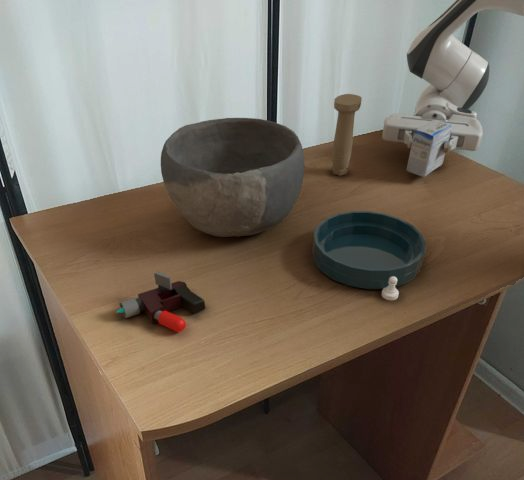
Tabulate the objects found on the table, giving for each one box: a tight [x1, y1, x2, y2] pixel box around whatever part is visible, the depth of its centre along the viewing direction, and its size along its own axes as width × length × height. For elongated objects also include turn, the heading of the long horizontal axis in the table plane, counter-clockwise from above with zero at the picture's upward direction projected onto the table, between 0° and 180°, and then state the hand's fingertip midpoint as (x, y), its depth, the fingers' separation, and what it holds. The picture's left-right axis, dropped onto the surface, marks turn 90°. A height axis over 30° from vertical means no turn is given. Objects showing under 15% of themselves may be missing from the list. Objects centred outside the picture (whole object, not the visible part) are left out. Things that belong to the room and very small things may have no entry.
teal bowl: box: [311, 210, 427, 290], centre depth 89 cm, size 18×18×4 cm
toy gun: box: [115, 271, 206, 333], centre depth 77 cm, size 10×12×5 cm
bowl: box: [160, 117, 305, 238], centre depth 94 cm, size 24×24×15 cm
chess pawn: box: [381, 276, 400, 301], centre depth 82 cm, size 3×3×4 cm
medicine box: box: [406, 120, 452, 178], centre depth 110 cm, size 8×4×9 cm, turn 139°
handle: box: [331, 93, 363, 177], centre depth 109 cm, size 5×6×15 cm
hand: (429, 146), depth 108 cm, fingers closed on medicine box, 6 cm apart
